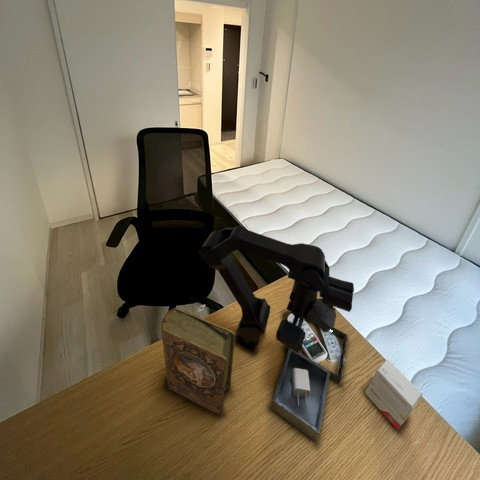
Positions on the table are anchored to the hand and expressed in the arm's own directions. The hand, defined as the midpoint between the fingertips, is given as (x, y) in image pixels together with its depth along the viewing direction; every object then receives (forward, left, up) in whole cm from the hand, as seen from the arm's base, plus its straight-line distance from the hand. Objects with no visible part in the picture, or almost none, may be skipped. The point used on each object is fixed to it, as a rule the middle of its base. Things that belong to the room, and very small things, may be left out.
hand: (293, 329), depth 67 cm
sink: (+6, -7, -12) cm, 15 cm away
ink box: (+26, +2, -12) cm, 29 cm away
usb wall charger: (+6, -7, -12) cm, 15 cm away
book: (-18, -20, -12) cm, 30 cm away
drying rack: (+7, +7, -12) cm, 16 cm away
